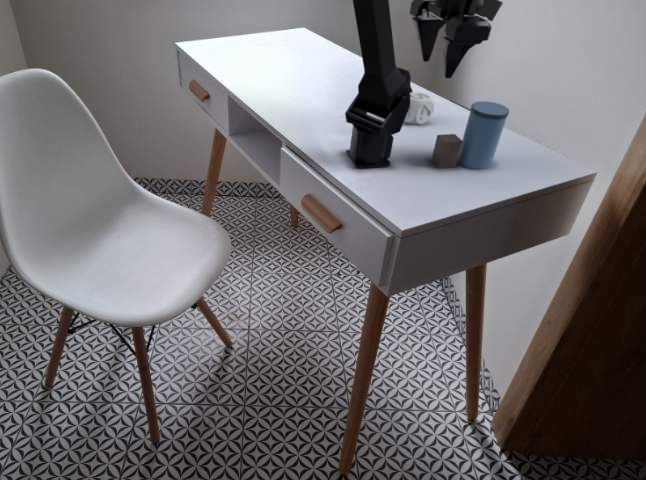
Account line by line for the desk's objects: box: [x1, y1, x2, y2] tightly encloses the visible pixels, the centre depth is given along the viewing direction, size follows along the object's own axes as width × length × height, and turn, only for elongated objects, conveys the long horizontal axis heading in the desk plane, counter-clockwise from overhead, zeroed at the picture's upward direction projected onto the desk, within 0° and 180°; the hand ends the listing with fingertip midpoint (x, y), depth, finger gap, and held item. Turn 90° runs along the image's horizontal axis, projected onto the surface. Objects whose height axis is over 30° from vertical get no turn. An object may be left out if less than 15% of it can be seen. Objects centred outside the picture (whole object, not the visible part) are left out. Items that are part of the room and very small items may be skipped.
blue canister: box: [457, 100, 510, 170], centre depth 91 cm, size 11×6×11 cm
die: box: [404, 91, 435, 126], centre depth 107 cm, size 5×5×5 cm
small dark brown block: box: [431, 133, 463, 169], centre depth 91 cm, size 3×3×5 cm
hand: (436, 69), depth 93 cm, fingers open, 9 cm apart
